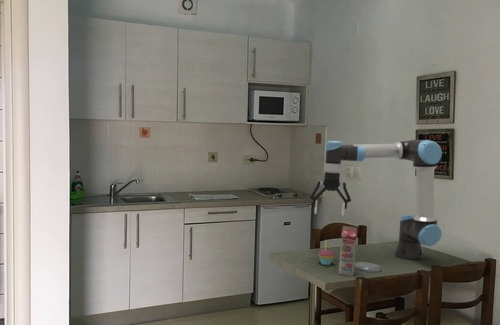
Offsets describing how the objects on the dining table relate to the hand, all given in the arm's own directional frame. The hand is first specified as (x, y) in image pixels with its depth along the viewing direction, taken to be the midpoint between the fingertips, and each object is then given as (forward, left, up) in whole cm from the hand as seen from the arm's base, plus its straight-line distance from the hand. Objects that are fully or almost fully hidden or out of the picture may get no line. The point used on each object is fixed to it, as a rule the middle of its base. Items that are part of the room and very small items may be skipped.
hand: (329, 214), depth 229 cm
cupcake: (0, 0, -25) cm, 25 cm away
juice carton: (-8, +13, -25) cm, 29 cm away
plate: (-20, +3, -25) cm, 32 cm away
